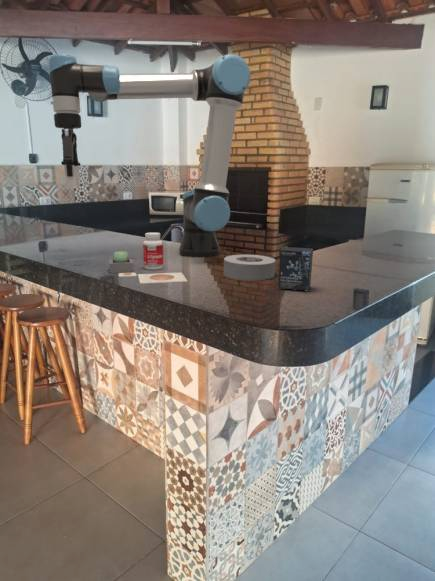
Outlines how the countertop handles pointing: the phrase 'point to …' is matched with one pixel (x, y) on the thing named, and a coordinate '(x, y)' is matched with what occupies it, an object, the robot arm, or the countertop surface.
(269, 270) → the tape roll
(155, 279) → the sheet
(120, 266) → the button base
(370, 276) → the countertop surface
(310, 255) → the box
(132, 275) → the card
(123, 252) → the button cap
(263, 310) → the countertop surface
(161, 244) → the pill bottle
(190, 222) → the robot arm
